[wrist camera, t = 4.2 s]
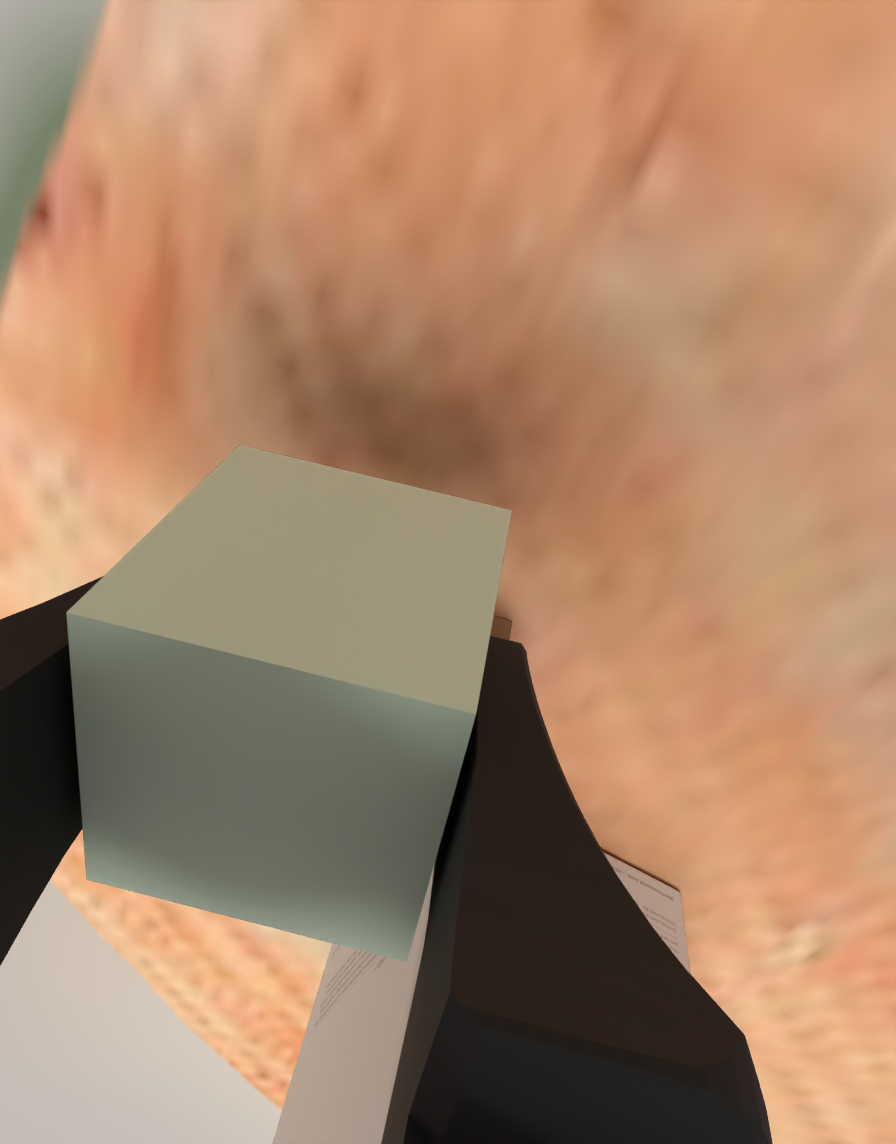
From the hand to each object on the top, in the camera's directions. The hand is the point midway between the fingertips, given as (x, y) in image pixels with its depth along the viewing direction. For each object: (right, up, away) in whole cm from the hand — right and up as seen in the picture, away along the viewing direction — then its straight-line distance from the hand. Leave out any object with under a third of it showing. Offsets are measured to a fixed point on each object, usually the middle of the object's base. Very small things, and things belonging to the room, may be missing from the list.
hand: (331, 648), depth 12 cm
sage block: (0, +1, +1) cm, 2 cm away
